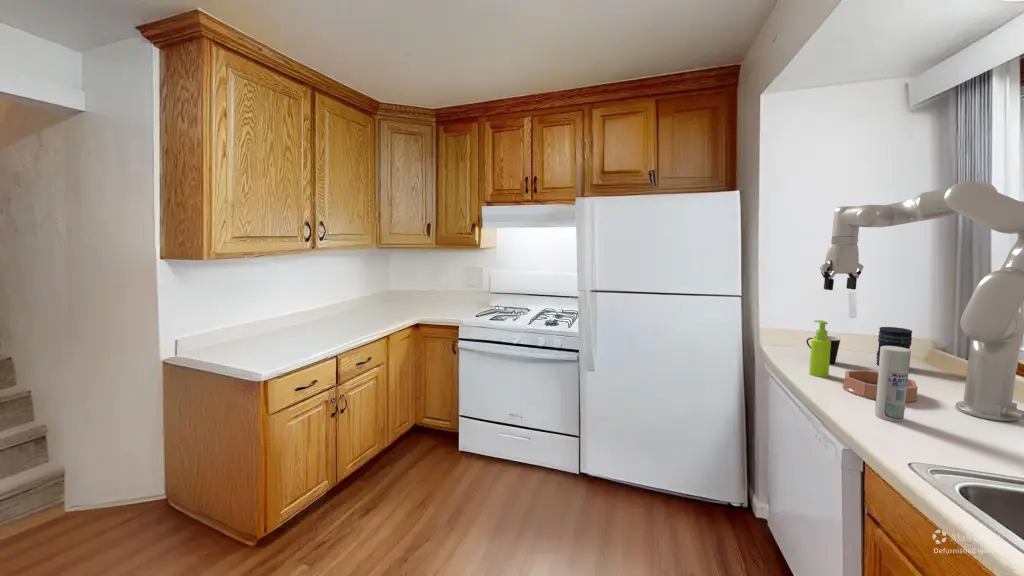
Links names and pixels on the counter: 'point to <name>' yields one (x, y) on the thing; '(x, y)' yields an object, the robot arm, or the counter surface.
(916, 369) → the counter surface
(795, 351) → the counter surface
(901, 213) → the robot arm
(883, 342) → the storage jar
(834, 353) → the coffee mug
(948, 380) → the counter surface
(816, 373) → the soap dispenser
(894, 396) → the spray can
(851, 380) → the bowl
